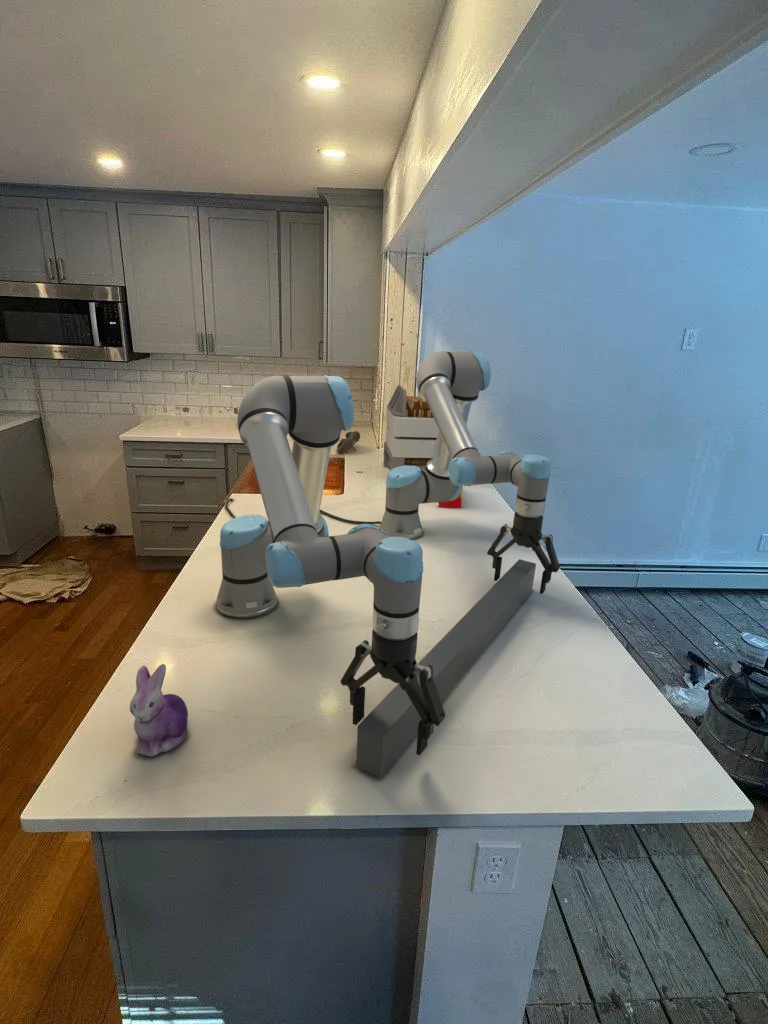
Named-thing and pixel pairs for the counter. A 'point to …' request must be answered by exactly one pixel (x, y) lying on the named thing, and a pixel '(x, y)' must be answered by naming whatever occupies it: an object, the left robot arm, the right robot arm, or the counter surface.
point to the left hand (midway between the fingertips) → (389, 734)
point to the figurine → (157, 714)
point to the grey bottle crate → (409, 431)
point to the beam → (441, 669)
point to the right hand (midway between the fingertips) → (519, 585)
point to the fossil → (348, 442)
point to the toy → (452, 502)
